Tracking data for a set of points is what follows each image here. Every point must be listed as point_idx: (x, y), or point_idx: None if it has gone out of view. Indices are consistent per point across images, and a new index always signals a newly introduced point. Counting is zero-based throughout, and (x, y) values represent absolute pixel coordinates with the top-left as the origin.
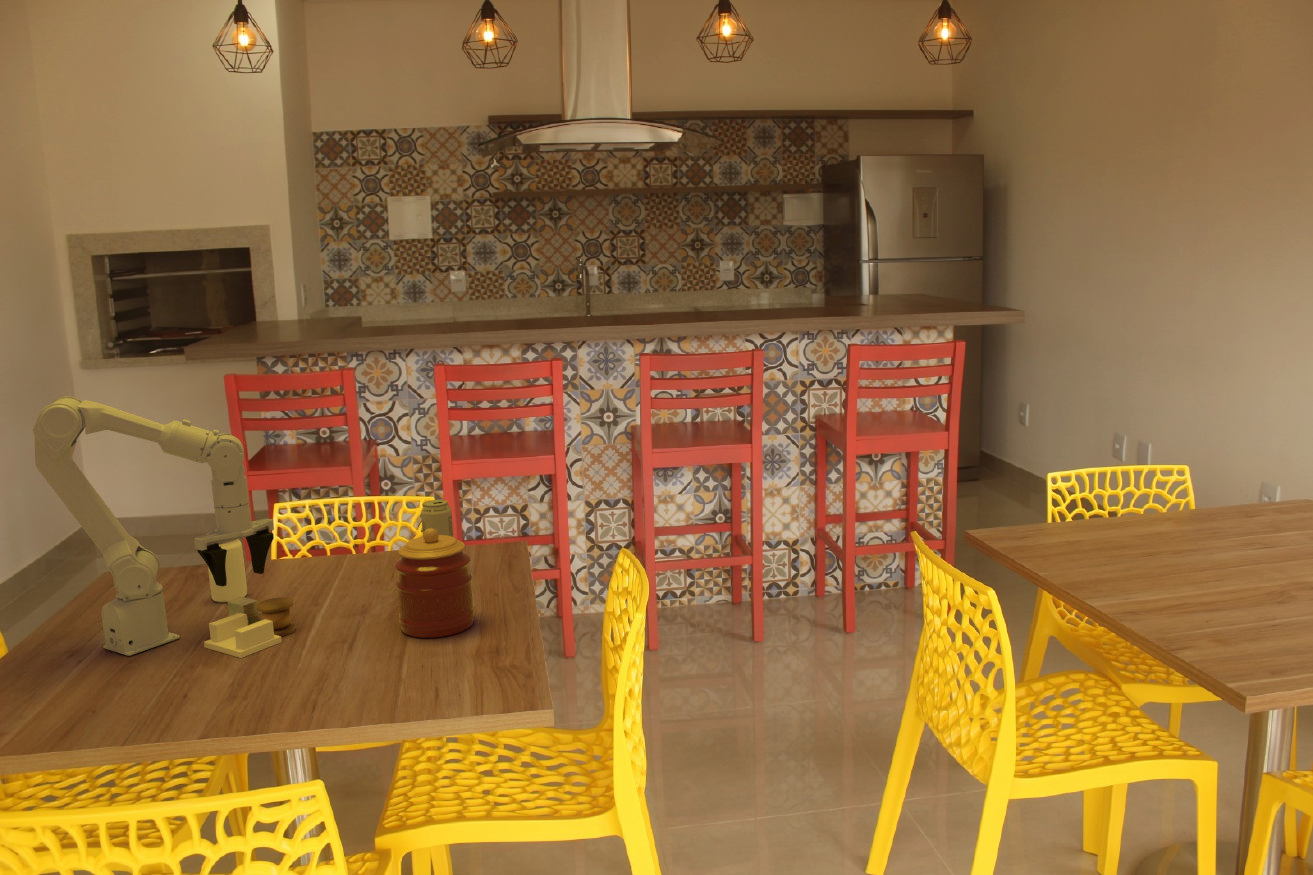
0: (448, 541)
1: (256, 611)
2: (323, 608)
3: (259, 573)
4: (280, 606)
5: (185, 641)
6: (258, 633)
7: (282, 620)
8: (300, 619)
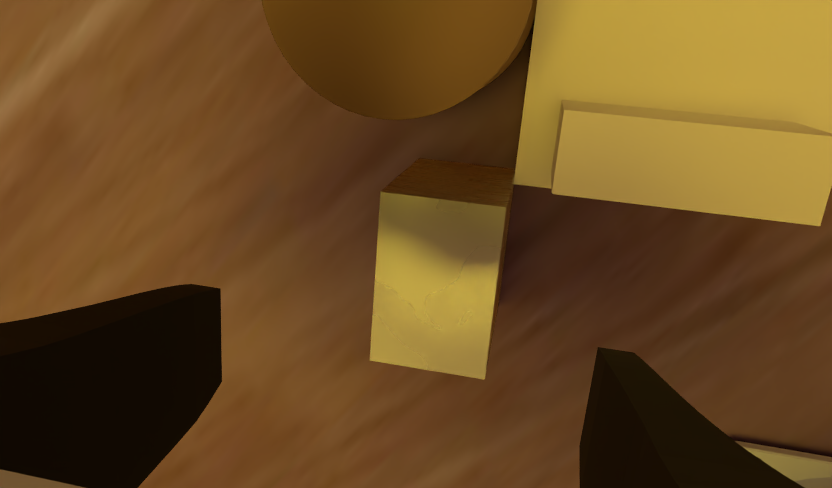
0: None
1: (416, 180)
2: (66, 53)
3: (217, 310)
4: None
5: (743, 385)
6: None
7: None
8: (236, 35)
